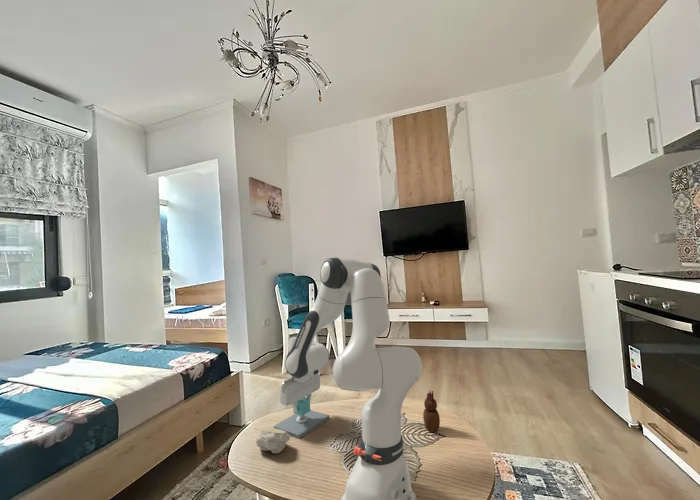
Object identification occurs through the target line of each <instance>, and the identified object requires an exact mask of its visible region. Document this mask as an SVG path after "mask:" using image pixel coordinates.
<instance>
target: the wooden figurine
mask: <svg viewBox="0 0 700 500" xmlns="http://www.w3.org/2000/svg"><path fill="white" fill-rule="evenodd" d="M434 397H435V396H434V391H433V390H429V392H428V393H427V394H426V398H425V399H424V401H423V403H424V404H423V405H424V410H423V414H422V416H423V417H422V419H423V422H424V426H425V429H426V430H427V431H428V432H430V433H436V432H437V431H439V429H440V424H441V423H440V421H441V419H440V414H439V411H438V410H437V408H438V404H437V401H436V399H435V398H434Z"/></svg>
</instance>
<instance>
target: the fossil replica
mask: <svg viewBox="0 0 700 500" xmlns="http://www.w3.org/2000/svg"><path fill="white" fill-rule="evenodd" d="M290 440H291V436H290V435H289V434H287V432H286V431H283V430H280V429H276V428H274V427H268V428H266V427H265V428H263V429H262V430H261V432H260V433H259V434H258V436H257V437H256V440H255V443H256V445H257V447H258V448H259V449H260V450H261V451H263V452H264V451H266V452H268V451H270V452H271V453H272V454H276V455H277V454H280V453H281V452H282V451H283V450H284V449H285V447H286V443H288V442H289V441H290Z"/></svg>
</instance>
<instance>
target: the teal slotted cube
mask: <svg viewBox="0 0 700 500" xmlns="http://www.w3.org/2000/svg"><path fill="white" fill-rule="evenodd" d="M296 405H297V406H299V411H297V412H294V407H293V406H292V408H293V414H298V415H301V416H303V415H304V414H306V413H308V412H309V411H310V410H311V399H310V398H306V396H305V397H303V398H302V399H300V400H298V401H297V404H296Z"/></svg>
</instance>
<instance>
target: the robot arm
mask: <svg viewBox="0 0 700 500" xmlns="http://www.w3.org/2000/svg"><path fill="white" fill-rule="evenodd" d="M319 277H320V281H321V284H320V286H319V290H318V292H317V295H316V298H315V301H314V303H313V305H312V307H310V308H311V309H310V310H309V312H308V313H307V314H306V316H305V317H304V319H303V321H302V324H301V326H300V328H299V331H298V333H297V334H295V335H293V336H291V337H290V338H289V339H288V340H289V341H288V352H287V355H286V358H285V363H284V365H285V370H286V372H287V373H288V374H289V378H288V379H285V380H283V382H282V383H281V387H280V388H281V389H280V396H279V397H280V404H281V405H282V406H284V407H285V406H286V407H288V406H290V405H292V408H293V407H294V411H293V413H294V412H297V411H299V406H297V405H296V404H297V401H298V400H300V399H302V398H303V397H306V398H310V400H311V398H312V394H313V393H315V392H316V391H318V390H319V389H320V388H321V374H320V372H321V371H320V369H321V368H324V367H326V366H327V364H328V363H329V360H330V352H329V350H328V348H327V346H326V345H324V344H323V343H321V342H317V341H315V340H314V339H315V337H316V335H317V334H318V333H319V332H321V330H322V329H324V327H326V326H328V325H329V324H331V323H332V322H335V321H336V320H337V319H339V318H340V316H341V315H342V313H343V311H344V309H345V307H346V304H347V300H348V295H349V292H350V304H351V315H352V316H351V317H352V331H351V336H350V339H349V341H348V343H347V344H346V347H345V348H344V349H343V350H342V351H341V353H339V354H338V355H337V357H336V358H335V359H334V363H333V366H332V375H333V379H334V381H335V383H336V385H337V386H338V387H339V388H340V389H341V390H343V391H349V392H364V391H372V390H373V391H374V390H377V392H376V394H375V395H374V396H373V397H371V398H370V399H369V400H368V401H366V402H365V404H364V405H363V407H362V409H361V411H360V417H361V418H360V420H361V422H360V423H361V437H360V442H359V446H358V445H357V446H356V445H355V447H354V448H353V455H355V456H358V457H357V459H356V461H355V463H354V465H353V468H352V469H351V472H350V474H349V476H348V479H347V481H346V484H345V492H344V494H343V495H342V497H341V499H340V500H417V496H416V493H415V492H414V491H413V490H412V485H411V477H410V469H409V465H408V463H407V461H406V458H405V456H404V446H405V445H404V440H403V435H402V431H401V429H402V428H401V425H402V424H401V417H402V416H401V415H402V406H403V403H404V399H406V396H407V394H408V392H409V391H410V389H411V388H412V387H413V386H414V385H415V383H417V382H418V381H419V380H420V378H421V376H422V372H423V364H422V363H423V362H422V359H421V357H420V355H419V354H418V352H417V351H416V350H415V349H414V348H412V347H408V346H396V345H395V346H387V347H377V348H376V347H374V340H375V339H377V338H378V337H380V336H381V335H383V334H385V333H386V331H387V330H388V328H389V327H390V322H391V320H390V314H389V310H388V309H389V308H388V302H387V297H386V291H385V288H384V285H383V282H382V276H381V270H380V268H379V267H378V266H377V265H376V264H374V263H371V262H365V261H362V260H356V259H354V258H341V257H340V258H338V257H329V258H326V259H325V260H324V261H323V263H322V264H321V267H320V271H319Z"/></svg>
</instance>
